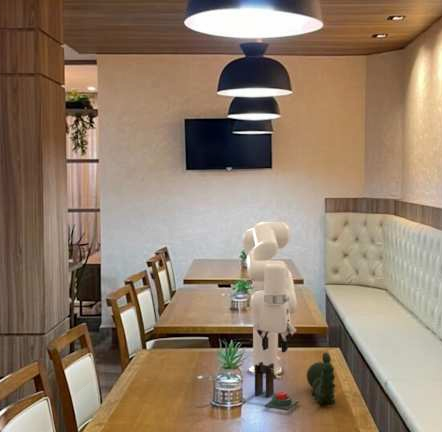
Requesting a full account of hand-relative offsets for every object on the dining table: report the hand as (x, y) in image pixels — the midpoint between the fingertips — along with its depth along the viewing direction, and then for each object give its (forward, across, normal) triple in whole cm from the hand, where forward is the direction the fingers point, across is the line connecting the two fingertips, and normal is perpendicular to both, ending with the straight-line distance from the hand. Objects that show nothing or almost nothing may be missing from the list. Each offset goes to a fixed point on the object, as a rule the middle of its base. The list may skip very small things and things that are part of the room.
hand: (274, 350), depth 231 cm
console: (+15, -9, +15) cm, 23 cm away
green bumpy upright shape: (+15, -18, 0) cm, 23 cm away
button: (+12, -9, +15) cm, 21 cm away
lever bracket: (+15, 0, +9) cm, 17 cm away
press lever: (+8, 0, +5) cm, 10 cm away
